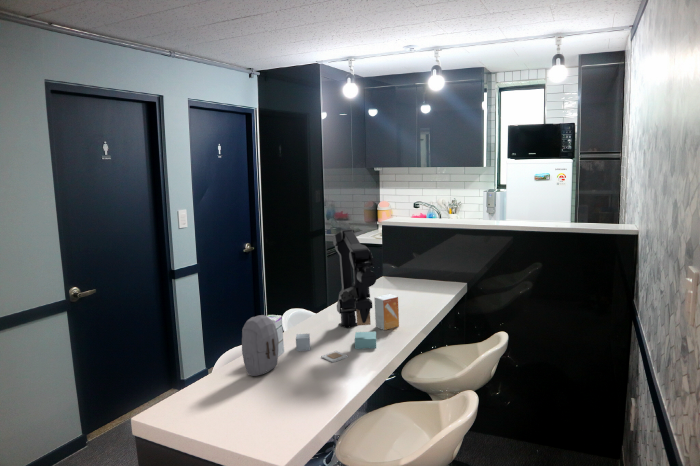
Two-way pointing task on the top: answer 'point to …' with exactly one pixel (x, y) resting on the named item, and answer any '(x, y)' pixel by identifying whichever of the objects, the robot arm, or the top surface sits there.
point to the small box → (386, 311)
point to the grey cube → (303, 342)
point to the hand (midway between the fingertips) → (363, 320)
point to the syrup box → (278, 331)
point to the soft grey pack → (259, 345)
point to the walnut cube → (359, 320)
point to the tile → (334, 356)
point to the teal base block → (365, 340)
